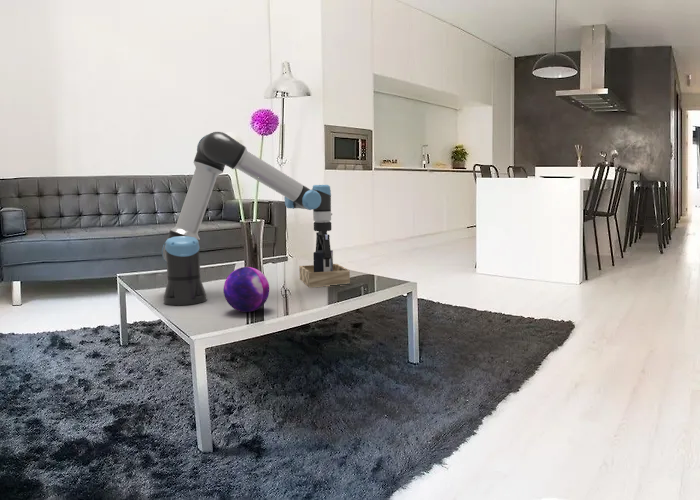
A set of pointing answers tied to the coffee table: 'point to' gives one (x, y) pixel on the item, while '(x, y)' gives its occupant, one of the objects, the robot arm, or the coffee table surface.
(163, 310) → the coffee table surface
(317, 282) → the pine crate
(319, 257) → the small box
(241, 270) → the decorative orb
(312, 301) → the coffee table surface
